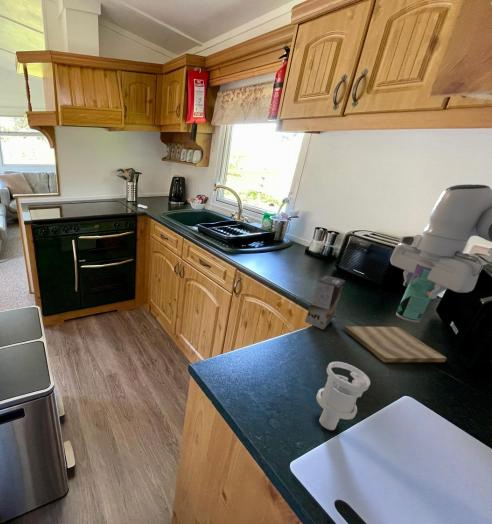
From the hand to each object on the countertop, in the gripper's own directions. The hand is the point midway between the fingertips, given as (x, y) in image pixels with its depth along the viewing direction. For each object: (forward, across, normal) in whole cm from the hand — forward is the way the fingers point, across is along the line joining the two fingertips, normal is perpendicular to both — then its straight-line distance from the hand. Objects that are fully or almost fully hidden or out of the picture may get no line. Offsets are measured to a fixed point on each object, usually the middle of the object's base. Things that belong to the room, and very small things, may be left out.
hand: (418, 291), depth 82 cm
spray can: (+9, 0, 0) cm, 9 cm away
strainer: (+20, -25, +40) cm, 51 cm away
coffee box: (+20, +15, +14) cm, 29 cm away
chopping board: (+20, +2, -2) cm, 20 cm away
